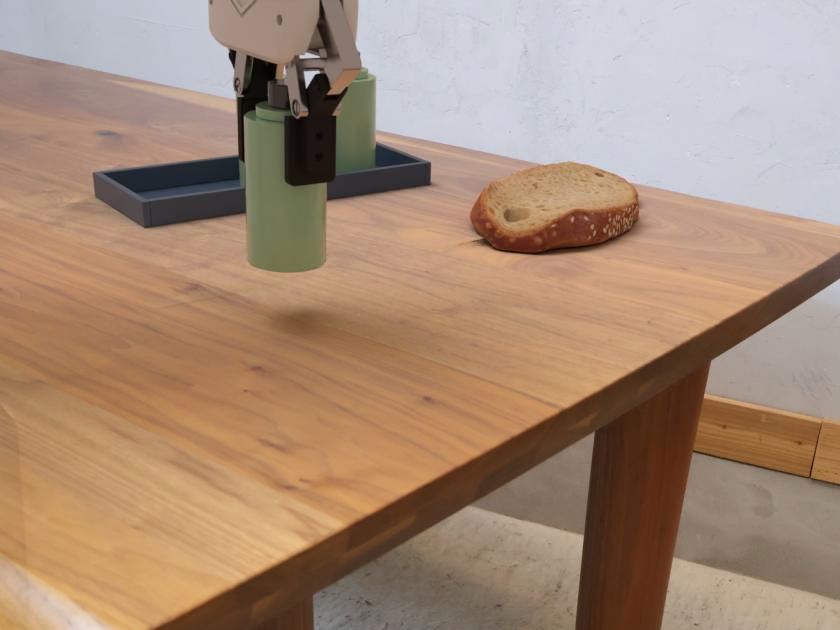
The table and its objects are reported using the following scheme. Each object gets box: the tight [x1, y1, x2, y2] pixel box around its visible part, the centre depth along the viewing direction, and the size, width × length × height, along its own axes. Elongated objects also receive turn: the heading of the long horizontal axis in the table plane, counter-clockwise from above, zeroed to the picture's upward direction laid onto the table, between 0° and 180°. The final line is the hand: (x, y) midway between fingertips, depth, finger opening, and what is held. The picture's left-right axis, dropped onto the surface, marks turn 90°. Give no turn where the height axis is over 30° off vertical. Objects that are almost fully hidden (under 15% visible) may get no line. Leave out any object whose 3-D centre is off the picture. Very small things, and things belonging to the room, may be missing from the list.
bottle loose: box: [244, 79, 328, 274], centre depth 71 cm, size 5×5×11 cm
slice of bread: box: [469, 160, 640, 254], centre depth 97 cm, size 18×18×4 cm
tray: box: [92, 141, 432, 229], centre depth 99 cm, size 27×10×3 cm, turn 126°
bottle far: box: [336, 50, 377, 173], centre depth 101 cm, size 5×5×11 cm
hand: (286, 168), depth 71 cm, fingers closed on bottle loose, 5 cm apart
